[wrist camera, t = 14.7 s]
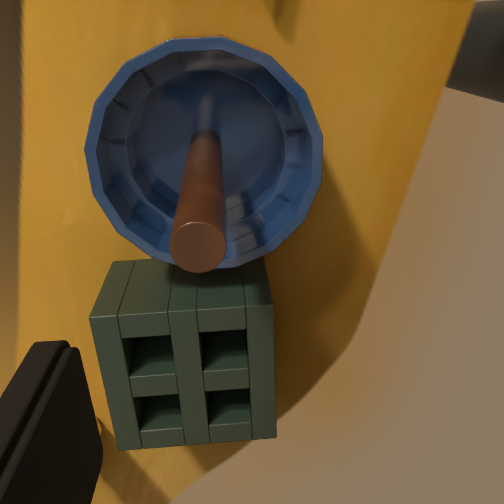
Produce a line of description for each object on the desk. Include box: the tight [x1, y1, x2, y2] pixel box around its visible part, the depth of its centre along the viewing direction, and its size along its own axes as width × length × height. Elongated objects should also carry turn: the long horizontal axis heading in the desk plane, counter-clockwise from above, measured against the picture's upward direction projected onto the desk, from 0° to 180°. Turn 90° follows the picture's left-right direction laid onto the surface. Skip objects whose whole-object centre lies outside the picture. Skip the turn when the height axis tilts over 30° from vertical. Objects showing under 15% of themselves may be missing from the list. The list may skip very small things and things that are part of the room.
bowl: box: [84, 34, 323, 269], centre depth 27 cm, size 12×12×6 cm
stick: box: [169, 129, 227, 273], centre depth 23 cm, size 2×2×15 cm
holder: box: [89, 256, 277, 451], centre depth 32 cm, size 10×10×7 cm
